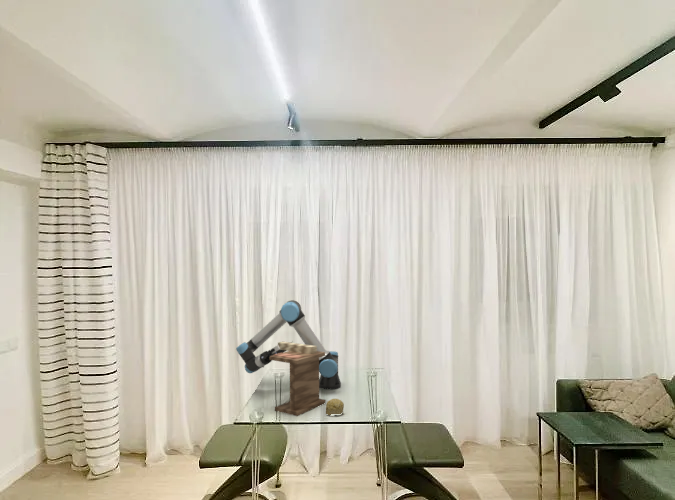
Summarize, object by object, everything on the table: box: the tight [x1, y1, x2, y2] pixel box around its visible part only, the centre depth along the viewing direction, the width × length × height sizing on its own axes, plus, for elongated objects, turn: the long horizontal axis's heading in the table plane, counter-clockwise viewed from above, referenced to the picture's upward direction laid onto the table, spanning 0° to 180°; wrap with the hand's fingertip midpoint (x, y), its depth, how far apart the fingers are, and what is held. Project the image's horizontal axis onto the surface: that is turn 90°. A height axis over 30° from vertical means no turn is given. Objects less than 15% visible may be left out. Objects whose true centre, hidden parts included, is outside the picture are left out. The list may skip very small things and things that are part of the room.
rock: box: [325, 398, 345, 416], centre depth 260 cm, size 10×11×10 cm
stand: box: [270, 351, 326, 417], centre depth 273 cm, size 20×26×30 cm
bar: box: [277, 341, 317, 354], centre depth 282 cm, size 26×4×4 cm, turn 56°
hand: (286, 345), depth 286 cm, fingers open, 13 cm apart
